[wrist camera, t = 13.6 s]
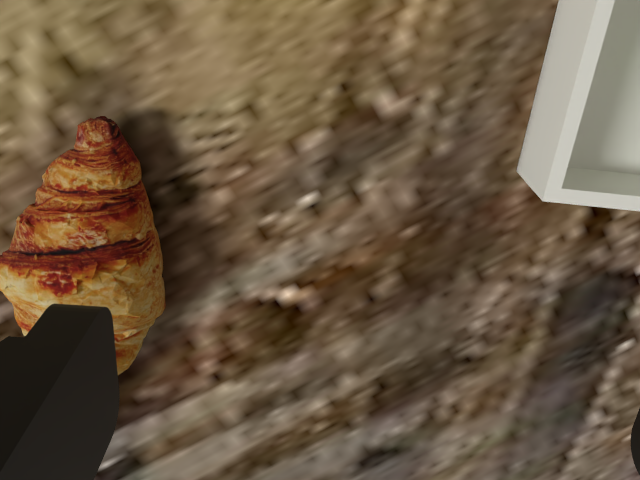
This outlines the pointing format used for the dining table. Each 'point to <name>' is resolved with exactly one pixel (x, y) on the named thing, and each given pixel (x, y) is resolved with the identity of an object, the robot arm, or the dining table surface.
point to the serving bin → (587, 108)
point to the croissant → (89, 241)
